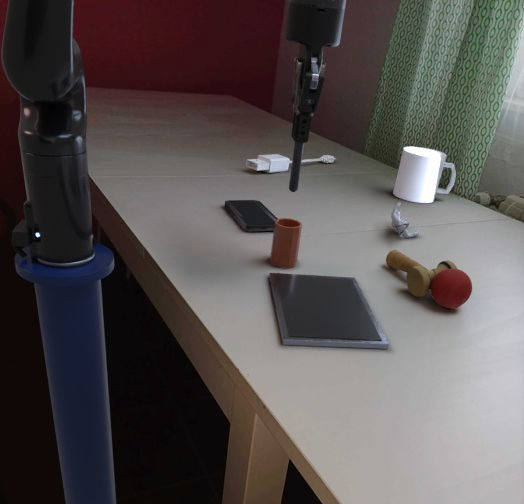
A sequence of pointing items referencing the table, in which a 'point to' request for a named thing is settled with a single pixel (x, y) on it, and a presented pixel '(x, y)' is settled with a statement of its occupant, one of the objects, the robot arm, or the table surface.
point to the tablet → (324, 312)
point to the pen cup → (285, 242)
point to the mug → (421, 174)
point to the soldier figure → (400, 223)
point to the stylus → (296, 166)
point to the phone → (251, 215)
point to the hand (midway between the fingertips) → (299, 140)
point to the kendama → (434, 280)
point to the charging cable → (279, 162)
